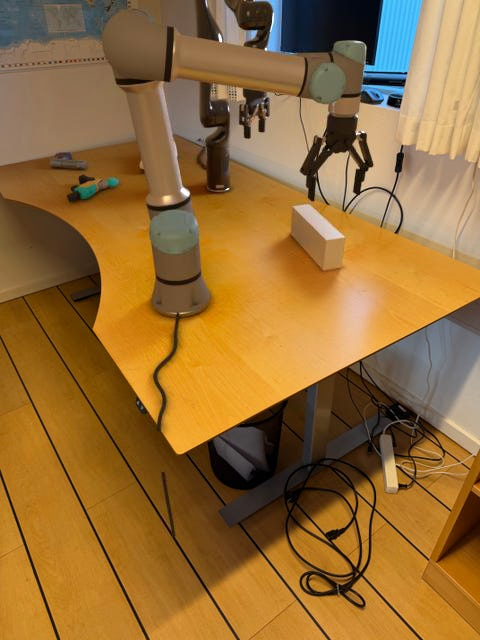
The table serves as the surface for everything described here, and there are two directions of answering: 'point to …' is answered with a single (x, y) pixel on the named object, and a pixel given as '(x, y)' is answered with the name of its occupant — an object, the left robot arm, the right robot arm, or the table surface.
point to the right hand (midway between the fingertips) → (254, 135)
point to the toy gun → (66, 161)
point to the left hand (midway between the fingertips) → (333, 196)
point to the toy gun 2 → (90, 187)
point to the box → (317, 237)
